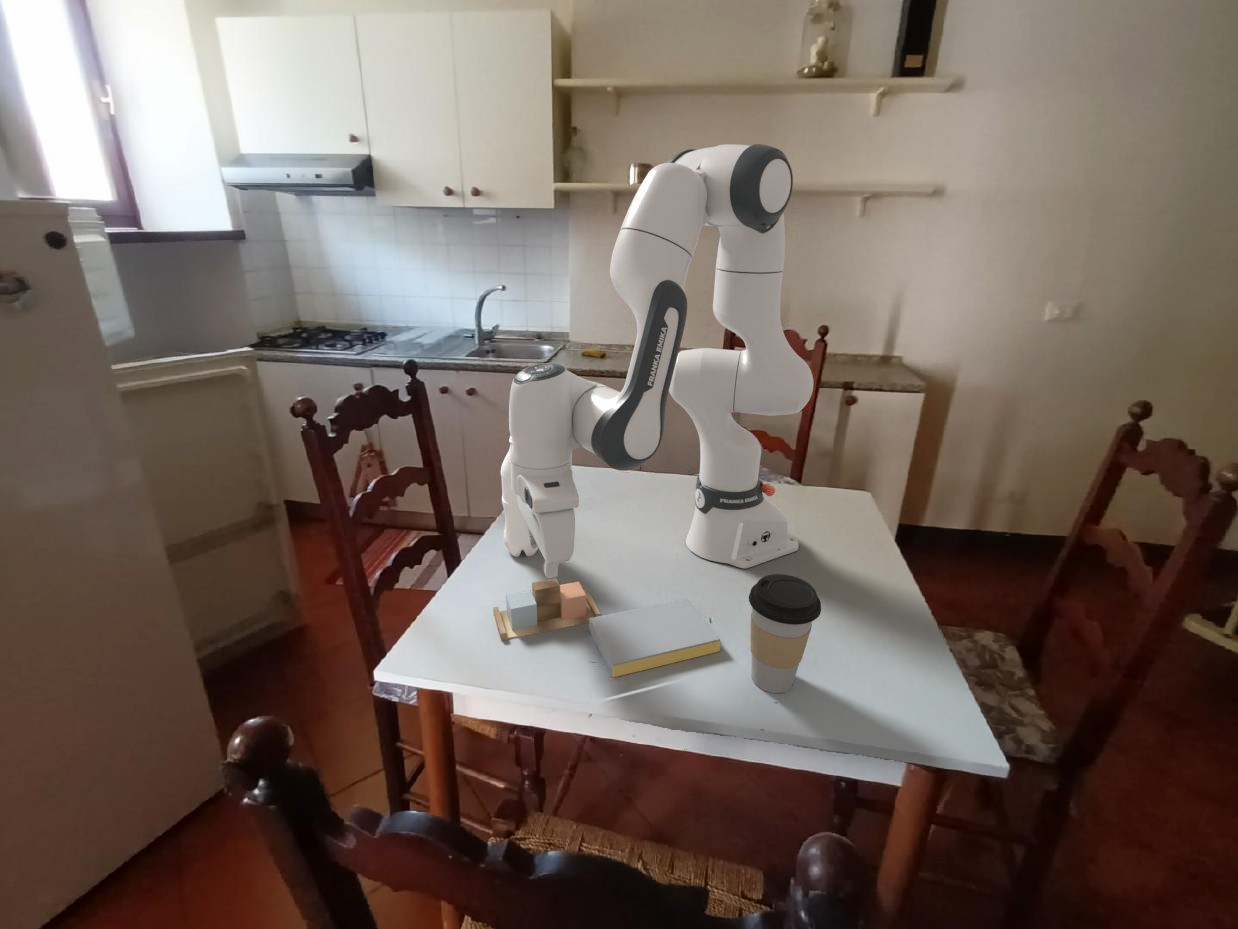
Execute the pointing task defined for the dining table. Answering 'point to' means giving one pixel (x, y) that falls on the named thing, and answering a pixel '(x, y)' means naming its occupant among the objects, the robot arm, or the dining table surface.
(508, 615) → the block
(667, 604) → the dock
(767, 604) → the coffee cup
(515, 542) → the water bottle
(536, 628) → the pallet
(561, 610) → the block
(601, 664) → the dining table surface
